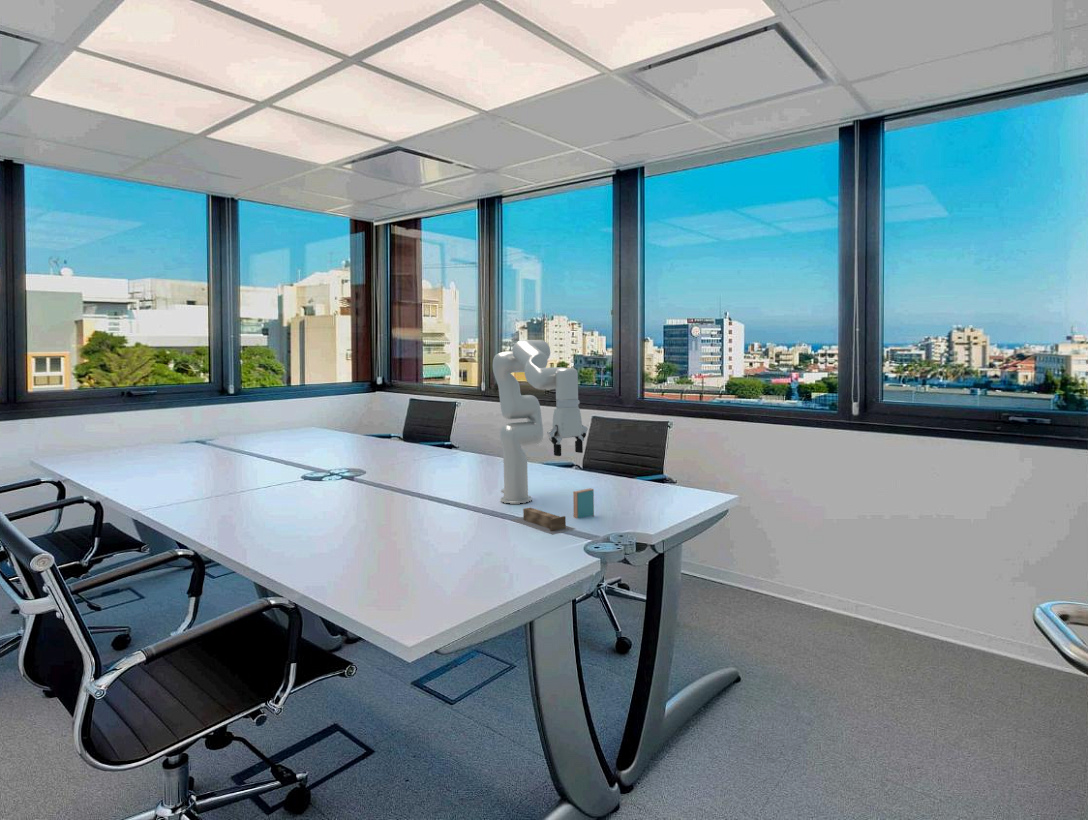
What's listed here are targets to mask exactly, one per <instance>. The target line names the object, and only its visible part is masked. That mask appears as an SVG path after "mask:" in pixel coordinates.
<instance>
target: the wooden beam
mask: <svg viewBox="0 0 1088 820" xmlns="http://www.w3.org/2000/svg"><path fill="white" fill-rule="evenodd" d="M522 513H523V517H524V520H525V521H528V522H531V523H534V524H537V525H540V526H543V527H546V528H549V529H550V531H556V530H560V529H564V528H566V526H567V524H566V523H567V522H566V521H567V519H566V517H567V516H565V515H563V516H559V515H556V514H553V513H550V512H546V511H543V510H541V509H540V510H539V509H536V508H533V507H526V508H523V511H522Z"/></svg>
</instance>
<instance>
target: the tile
mask: <svg viewBox="0 0 1088 820" xmlns="http://www.w3.org/2000/svg"><path fill="white" fill-rule="evenodd" d="M594 496H595V495H594V488H584V489H579V490H574V491H573V494H572V497H573V500H572V501H573V518H574V519H581V518H586V517H594V516H595V507H594V505H595V501H594V500H595V499H594Z"/></svg>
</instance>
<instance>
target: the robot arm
mask: <svg viewBox="0 0 1088 820" xmlns="http://www.w3.org/2000/svg"><path fill="white" fill-rule="evenodd" d="M511 349H512V350H508V351H502V352H499V353H497V354H495V356H494V357H493V360H492V371H493V375H494V378H495V380H496V384H497V386H498V395H499V404H500V405H499V406H500V412H501V415H502V417H503V419H506V420H523V419H526V421H523V422H522V421H519V422H510V423H506V424H504V425H503V426H502V427H501V428H500V431H499V435H500V441H501V442H500V443H501V447H502V456H503V457H502V458H503V460H502V461H503V486H504V488H503V489H501V490H500V492H501V494H503V496H501V497H500V503H503V502H504V504H506V503H510V504H509V505H521V504H520V503H523V504H527V503H526V502H528V503H530V502H532V501H531V500H533V497H532V496H531V495H529V486H528V485H529V479H528V478H529V477H528V456H527V454H526V452H525V451H524V450H523V448H522V447H527V446H535V445H539V444H541V443H542V442H543V440H544V427H543V418H542V411H541V410H542V409H541V405H540V401H539V400H538V398H537V396H535V395H533V394H532V395H531V394H525V395H523V394H521V388H520V387H521V386H520V383H519V381H518V379H517V378H516V377H515V375H513V374H512V373H524V377H525V379H526V381H527V382H528V384H530V386H532V387H533V388H535V390H544V391H545V390H555V401H556V402H555V403H556V405H555V406H556V407H555V408H554V410H553V416H552V425H551V426H552V427H551V429H549V430H548V431H547V436H548V439H549V441H550V442H551V444H552V445H553V455H554V456H555V457H562V444H561V442H562V440H563V439H569V438H570V439H571V438H574V439H575V442H574V450H575V451H574V452H575V453H578V454H580V453H581V454H583V450H584V449H583V447H584V446H583V443H584V441H585V438H586V436H587V432H588V429H589V428H588V426H585V425H583V423H582V413H581V409H580V407H579V405H580V404H581V401H580V400H579V378H578V377H579V376H578V375H579V374H578V370H577V369H576V368H573V367H564V366H563V367H561V366H560V367H547V366H548V362H549V361H548V360H549V358H550V356H551V348H550V345H549V343H547V342H546V340H543V339H524V340H519V341H518V340H517V341H516V342H515V343H514V344H513V346H512V348H511ZM529 501H530V502H529Z"/></svg>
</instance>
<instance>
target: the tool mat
mask: <svg viewBox="0 0 1088 820" xmlns="http://www.w3.org/2000/svg"><path fill="white" fill-rule="evenodd" d="M511 521H512V522H515V523H518V524H521V525H524V526H526V527H530V528H532V529H535V530H538V531H541V532H544V533H547V534H550V535H558V534H561V533H566V532H570V531H574V530H576V528H574V527H572V526H568V525H566V528H564V529H560V530H556V531H550V529H549V528H546V527H543V526H540V525H537V524H534V523H531V522H528V521H525V520H524V517H519V518H513V519H511Z"/></svg>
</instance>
